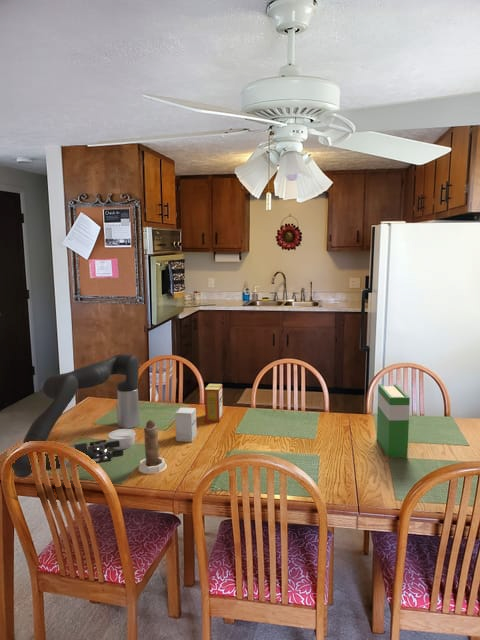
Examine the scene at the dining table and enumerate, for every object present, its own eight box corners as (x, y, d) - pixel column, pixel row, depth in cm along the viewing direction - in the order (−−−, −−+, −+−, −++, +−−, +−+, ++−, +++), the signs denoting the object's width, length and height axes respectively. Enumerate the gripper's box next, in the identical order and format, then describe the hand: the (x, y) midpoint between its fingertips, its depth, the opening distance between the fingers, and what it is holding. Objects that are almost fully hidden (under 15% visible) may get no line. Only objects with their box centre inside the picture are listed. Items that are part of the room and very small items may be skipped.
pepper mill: (143, 468, 185) (141, 421, 182) (152, 463, 189) (149, 417, 186) (153, 471, 182) (151, 423, 179) (161, 465, 186) (159, 419, 183)
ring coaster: (132, 472, 184) (132, 464, 183) (151, 461, 193) (151, 453, 192) (154, 478, 179) (153, 470, 178) (172, 467, 187) (172, 459, 187)
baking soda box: (219, 422, 233) (218, 389, 230) (205, 421, 234) (204, 388, 231) (223, 415, 242) (222, 383, 240) (209, 414, 243) (209, 382, 241)
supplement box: (192, 442, 210) (191, 413, 208) (175, 441, 212) (174, 412, 210) (197, 435, 217) (196, 407, 215) (180, 434, 219) (179, 406, 217)
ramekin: (112, 453, 201) (111, 440, 200) (105, 443, 211) (105, 431, 210) (139, 447, 206) (138, 435, 205) (132, 438, 216) (131, 426, 215)
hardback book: (376, 439, 210) (378, 384, 206) (394, 439, 210) (396, 384, 206) (388, 457, 193) (390, 397, 189) (407, 457, 192) (409, 397, 189)
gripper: (74, 453, 167) (123, 445, 173) (72, 438, 180) (117, 431, 186) (76, 474, 168) (125, 465, 174) (73, 457, 181) (118, 450, 187)
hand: (121, 447), depth 180 cm, fingers open, 8 cm apart
